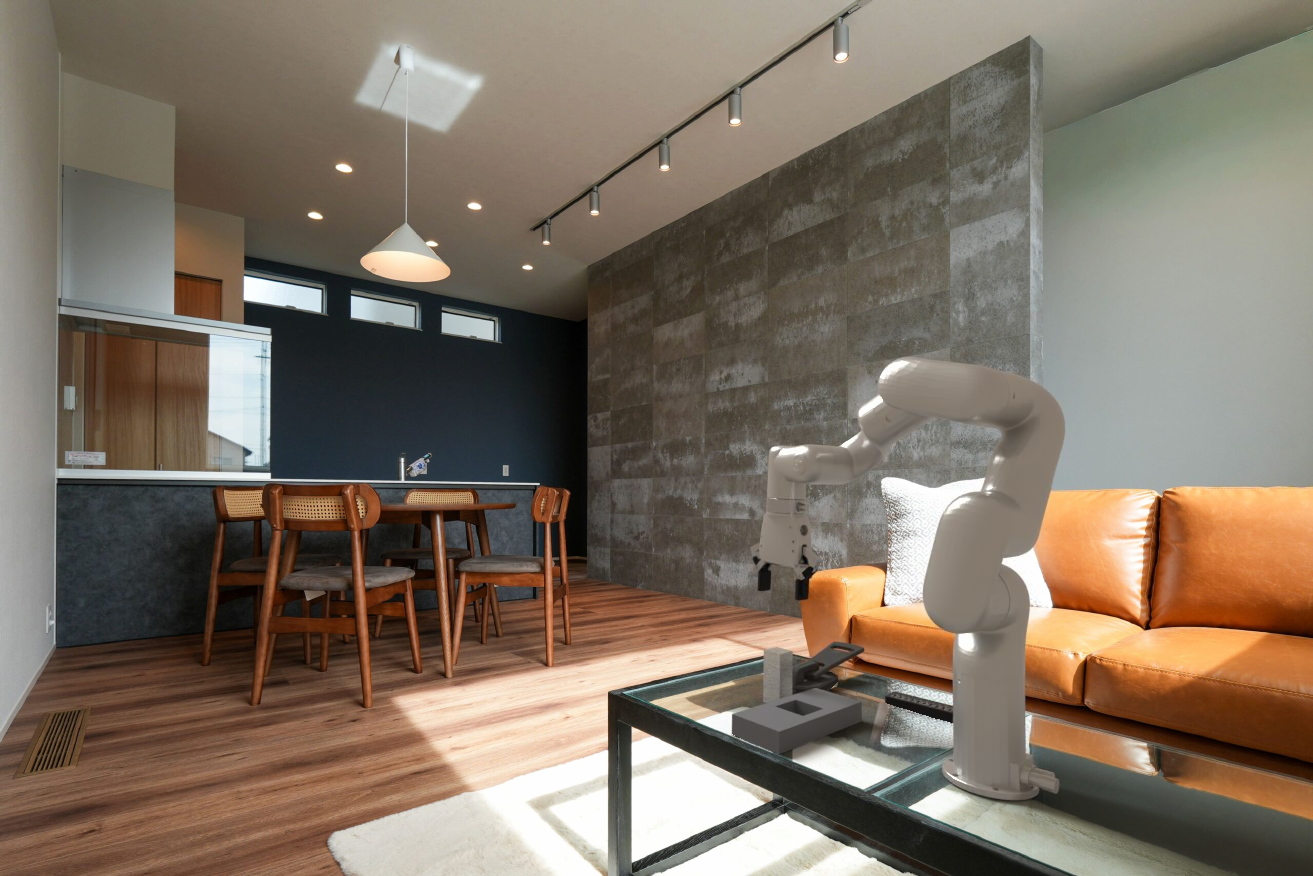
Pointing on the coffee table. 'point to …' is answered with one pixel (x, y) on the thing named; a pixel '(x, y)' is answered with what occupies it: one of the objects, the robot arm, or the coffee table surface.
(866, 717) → the coffee table surface
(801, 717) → the grey block with hole
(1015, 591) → the robot arm
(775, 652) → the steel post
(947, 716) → the multiport hub
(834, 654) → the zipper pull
